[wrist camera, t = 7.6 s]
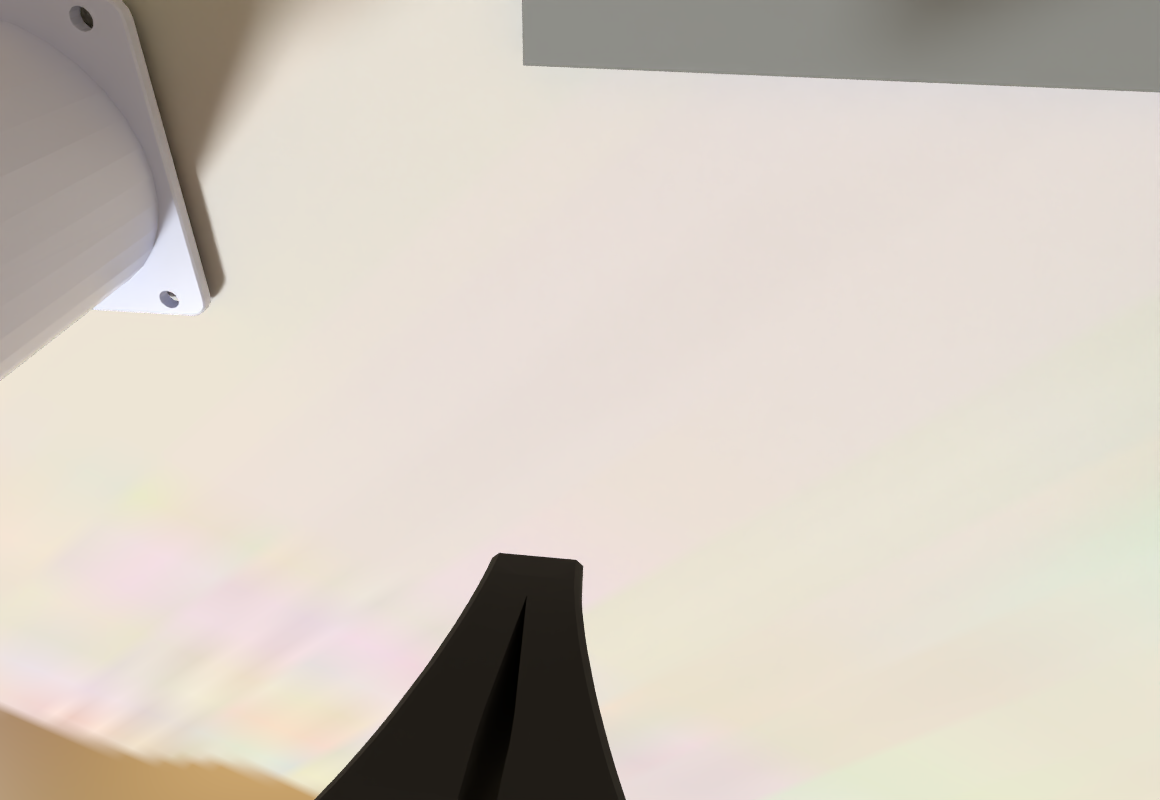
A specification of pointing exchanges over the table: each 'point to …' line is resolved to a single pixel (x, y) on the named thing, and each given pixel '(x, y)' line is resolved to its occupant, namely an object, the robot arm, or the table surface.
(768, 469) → the table surface
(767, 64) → the mat
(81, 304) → the robot arm
